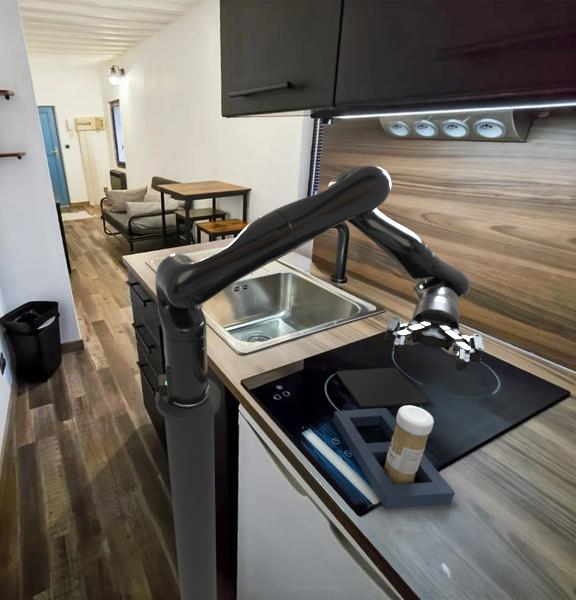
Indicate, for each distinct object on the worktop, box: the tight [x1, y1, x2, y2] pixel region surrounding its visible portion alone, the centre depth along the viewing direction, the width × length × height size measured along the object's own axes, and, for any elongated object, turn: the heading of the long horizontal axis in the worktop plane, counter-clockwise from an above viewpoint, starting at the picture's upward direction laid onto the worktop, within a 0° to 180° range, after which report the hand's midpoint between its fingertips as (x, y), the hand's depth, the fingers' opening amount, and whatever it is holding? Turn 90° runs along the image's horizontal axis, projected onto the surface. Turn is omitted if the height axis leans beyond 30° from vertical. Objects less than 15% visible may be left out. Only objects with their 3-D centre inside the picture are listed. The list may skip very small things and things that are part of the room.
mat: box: [335, 367, 430, 409], centre depth 80 cm, size 14×12×1 cm
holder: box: [332, 407, 456, 509], centre depth 63 cm, size 10×18×2 cm, turn 2°
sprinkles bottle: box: [382, 405, 435, 485], centre depth 57 cm, size 5×5×14 cm
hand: (428, 358), depth 61 cm, fingers open, 8 cm apart
